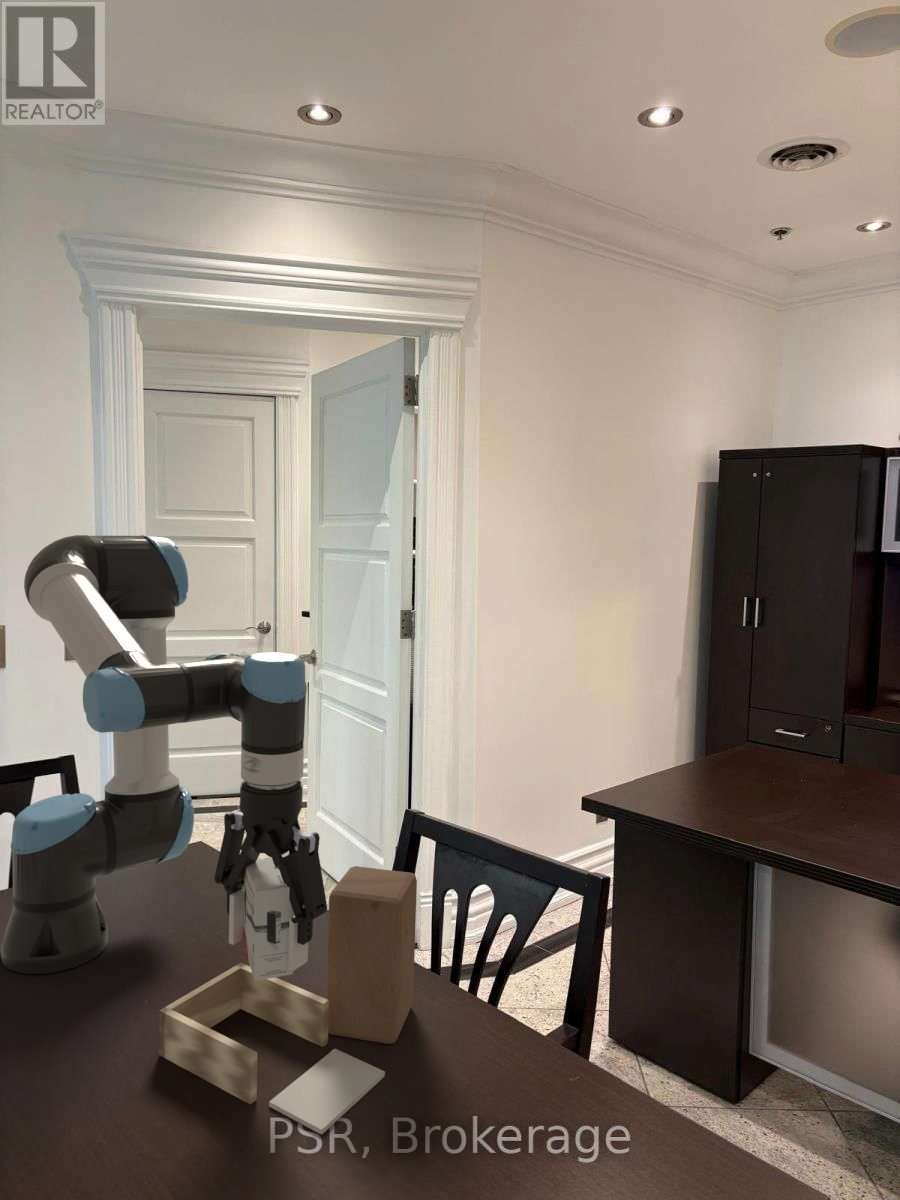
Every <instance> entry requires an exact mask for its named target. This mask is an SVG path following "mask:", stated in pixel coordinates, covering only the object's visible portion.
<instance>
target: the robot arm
mask: <svg viewBox="0 0 900 1200" xmlns="http://www.w3.org/2000/svg"><path fill="white" fill-rule="evenodd" d="M23 583H24V584H23V585H24V587H23V588H24V593H25V594H24V595H25V596H26V600H27V602H28V603H29V605H30V607H31V609H32V610H33V612H34V613H35V614H36V615H38V617H40V618H41V619H43V620H45V621H47V622H49V623H51V625H52V627H53V629H54V630H55V631H56V633H57V634H58V636H59V638H60V639H61V640H62V642H63V643H64V645H65V647H66V648H67V650H68V651H69V653H70V654H71V656H72V657H73V659H74V660H75V662H76V664H77V665H78V666H79V668H80V669H81V671H82V672H83V675H85V679H84V682H83V687H82V688H83V689H82V705H83V711H84V713H85V717H86V718H85V719H86V721H87V724H88V725H89V727H90V728H91V729H92V730H94V732H95V731H96V732H98V733H103V734H104V733H112V743H113V747H112V748H113V776H112V777H111V779H110V780H108V782H107V783H106V784H105V785H104V798H103V799H102V800H98V801H96V800H95V799H94V797H93V796H91V795H90V794H86V793H80V792H79V793H77V792H75V793H73V794H71V793H65V794H58V795H54V796H53V795H52V796H50V797H47V798H44V799H40V800H38V801H36V802H34V803H32V804H30V805H28V806H26V807H25V808H23V810H21V811H20V812H19V813H18V814H17V815H16V817H15V818H14V820H13V823H12V833H11V842H10V850H11V853H12V855H11V858H12V861H11V863H12V899H13V900H12V901H13V902H12V903H13V904H12V911H11V914H10V917H9V920H8V923H7V926H6V929H5V932H4V935H3V938H2V941H1V945H0V959H1V960H0V961H1V963H2V965H3V966H4V967H5V968H7V969H8V970H10V971H13V972H17V973H20V974H26V975H44V974H53V973H58V972H59V973H60V972H62V971H67V970H71V969H73V968H76V967H79V966H81V965H84V964H86V963H88V962H90V961H92V960H93V959H95V958H96V957H97V956H99V955H100V954H101V953H103V951H104V950H105V949H106V947H108V943H109V939H108V938H109V933H108V930H109V929H108V923H107V920H106V918H105V916H104V913H103V910H102V908H101V906H100V903H99V900H98V898H97V895H96V892H97V891H96V890H97V889H96V886H97V885H96V881H97V880H96V879H97V878H98V877H99V878H100V877H103V876H108V875H111V874H116V873H120V872H124V871H129V870H131V869H136V868H142V867H145V866H149V865H158V864H161V863H163V862H164V861H167V860H168V861H169V860H171V859H174V858H178V857H179V856H180V855H182V854H183V852H184V851H185V850H186V849H187V848H188V846H189V844H190V842H191V839H192V836H193V831H194V825H195V824H194V823H195V811H194V809H195V808H194V806H193V805H192V801H193V800H192V796H191V794H190V792H189V791H188V789H187V788H185V787H184V786H181V785H180V778H178V777H177V775H175V774H174V773H172V771H171V770H170V741H169V738H170V737H169V736H170V735H169V725H175V724H183V723H192V722H199V721H206V720H207V721H208V720H215V719H221V718H222V719H223V718H232V719H234V720H236V721H238V722H240V723H241V729H240V730H241V731H240V732H241V741H240V743H241V744H240V747H241V751H240V752H241V753H240V757H241V758H240V759H241V760H240V777H241V779H242V780H243V781H242V782H241V783H240V784H239V785H240V786H239V787H240V790H239V793H240V794H239V808H238V809H236V810H235V809H234V810H232V811H230V812H227V813H225V814H224V816H223V821H224V824H223V825H224V833H223V837H222V840H221V841H222V842H221V846H220V851H219V855H218V861H217V865H216V869H215V874H214V877H213V878H214V882H215V883H216V884H217V885H220V884H221V885H222V886H224V891H225V892H226V912H227V915H229V917H228V919H229V920H228V921H229V922H228V923H229V924H228V926H229V927H228V944H230V945H232V946H234V945H235V944H237V943H240V942H241V941H244V876H245V870H246V867H247V866H249V865H251V864H253V863H255V862H256V861H258V859H259V856H260V854H265V855H266V856H268V857H270V858H272V860H273V863H274V865H275V866H276V867H278V868H279V870H280V873H281V876H282V879H283V882H284V883H285V884H287V886H288V887H289V900H290V903H291V906H292V909H293V912H294V916H293V917H291V918H290V919H289V954H288V969H289V970H291V971H293V972H294V971H296V970H297V969H299V968H300V967H301V966H303V965H305V964H306V963H307V962H308V959H309V942H310V941H312V940H313V931H314V930H313V929H314V928H313V927H314V925H313V924H314V920H315V919H317V918H318V917H320V916H322V915H323V914H325V913H327V911H328V904H327V903H328V902H327V897H326V892H325V886H324V880H323V879H324V878H323V873H322V868H321V861H320V860H321V859H320V854H319V848H320V847H319V846H320V838H321V837H320V834H319V833H318V832H316V831H313V832H312V833H308V832H305V831H303V830H301V827H300V823H299V815H300V813H301V811H302V807H303V792H304V791H303V790H304V787H303V785H304V783H303V781H302V780H301V779H302V778H303V776H304V761H305V759H304V755H305V753H304V752H305V751H304V750H305V749H304V748H305V747H304V740H305V724H306V722H305V721H306V699H307V697H306V696H307V692H308V686H307V683H306V664H305V662H304V659H303V658H302V657H300V656H299V655H296V654H293V653H285V652H278V651H277V652H276V651H275V652H274V651H270V652H269V651H268V652H265V651H264V652H256V653H252V654H248V655H247V656H246V657H244V656H242V655H241V656H240V655H238V654H237V653H236V654H235V653H227V652H219V653H218V652H216V653H213V654H211V655H209V656H208V657H206V658H205V659H203V660H197V661H196V660H195V661H186V662H184V661H183V662H172V663H170V662H169V663H167V662H168V659H167V628H168V626H169V625H170V624H171V623H172V622H173V621H174V619H175V618H176V608H177V607H180V606H181V605H183V604H184V603H185V601H187V597H188V595H187V594H188V592H189V576H188V570H187V565H186V562H185V558H184V557H183V554H182V552H181V550H179V547H178V546H177V544H176V543H175V542H174V541H172V540H171V539H169V538H167V537H163V536H155V535H154V536H151V535H144V534H141V535H88V534H80V535H79V534H78V535H76V534H75V535H70V536H66V537H62V538H60V539H58V540H55V541H53V542H51V543H49V544H48V545H46V546H45V547H43V548H42V549H41V550H39V552H38V553H37V554H36V555H35V556H34V557H33V558H32V560H31V562H30V563H29V565H28V567H27V569H26V572H25V575H24V580H23ZM245 833H246V834H245ZM245 835H246V836H245ZM244 837H245V838H244ZM286 853H288V854H287V855H285V854H286ZM283 855H284V856H283Z"/></svg>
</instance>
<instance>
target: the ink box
mask: <svg viewBox="0 0 900 1200" xmlns="http://www.w3.org/2000/svg"><path fill="white" fill-rule="evenodd" d="M243 888H244V939H243V948H244V952H245V955H246V958H247V961H248V964H249V965H248V966H250V968H251V971H252V974H253V977H254V980H255V981H258V980H263V979H269V978H274V977H276V978H279V977H285V976H292V975H293V974H294V971H291V970H289V969H288V954H289V919H290V918H291V917H293V916H295V915H294V912H293V909H292V906H291V903H290V900H289V887H288V886H287V884H285V883H284V882H283V879H282V876H281V873H280V870H279V868H278V867H276V866H275V865H274V863H273V860H272V857H270V858H265V859H264V858H263V859H259V860H258V859H257V861H256V862H255V863H253V864H251V865H249V866H247V867H246V870H245V876H244V886H243Z"/></svg>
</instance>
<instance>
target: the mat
mask: <svg viewBox="0 0 900 1200" xmlns="http://www.w3.org/2000/svg"><path fill="white" fill-rule="evenodd" d="M385 1076H386V1071H384V1070H382V1069H381V1068H378V1067H376V1066H374V1065H372V1064H370V1063H367V1062H365V1061H363V1060H360V1059H359V1058H356V1057H354V1056H352V1055H350V1054H348V1053H346V1052H344V1051H341V1050H340V1049H337V1048H334V1049H332V1050H331V1051H330V1052H329V1053H328V1054H326V1055H325V1056H324V1057H323V1058H321V1059H320V1060H319V1061H317V1062H316V1063H315V1064H314V1065H313V1066H312V1067H310V1068H308V1070H306V1071H305V1072H304V1073H303V1074H301V1075H300V1076H299V1077H298V1078H296V1079H295V1080H294V1081H293V1082H292V1083H290V1084H289V1085H288V1086H287V1087H285V1088H284V1089H283V1090H282V1091H281V1092H279V1093H278V1094H277V1095H275V1096H274V1097H273V1098H272V1099H270V1100H269V1101H268V1107H269V1108H271V1109H273V1110H275V1111H276V1112H278V1113H280V1114H282V1115H284V1116H286V1117H288V1118H290V1119H292V1120H293V1121H295V1122H297V1123H298V1124H301V1125H303V1126H305V1127H306V1128H308V1129H310V1130H312V1131H314V1132H315V1133H316V1134H319V1135H321V1136H322V1135H323V1134H325V1132H326V1131H327V1130H329V1129H330V1127H332V1126H333V1125H334V1124H335V1123H336V1122H337V1121H338V1120H339V1119H340V1118H341V1117H342V1116H344V1115H345V1114H346V1113H347V1112H348V1111H349V1110H350V1109H351V1108H352V1107H353V1106H354V1105H355V1104H357V1103H358V1102H359V1101H360V1100H361V1099H362V1098H363V1097H365V1095H366V1094H367V1093H368V1092H370V1091H371V1090H372V1089H373V1088H374V1087H375V1086H376V1085H377V1084H378V1083H379V1082H380V1081H381V1080H382V1079H383V1078H385Z"/></svg>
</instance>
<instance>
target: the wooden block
mask: <svg viewBox="0 0 900 1200" xmlns="http://www.w3.org/2000/svg"><path fill="white" fill-rule="evenodd" d="M417 883H418V881H417V876H416V874H415V873H413V872H408V871H407V872H406V871H399V870H390V869H383V868H382V869H381V868H376V867H375V868H374V867H368V866H357V865H354V866H352V867H350V868H349V869H348V870H347V871H346V872H345V874H344V875H343V876H342V878H341V879H340V880H339V882H338V883H337V884H336V885H335V887H334V888H333V889H332V891H330V893H329V896H328V925H327V926H328V927H327V928H328V929H327V933H328V934H327V967H326V968H327V969H326V970H327V977H326V979H327V980H326V999H327V1000H329V1012H328V1034H330V1035H331V1036H332V1035H333V1036H340V1037H345V1038H349V1039H351V1038H352V1039H356V1040H362V1041H369V1042H374V1043H380V1044H388V1045H391V1044H395V1043H396V1042H397V1041H398V1038H399V1036H400V1034H401V1031H402V1028H403V1027H404V1024H405V1022H406V1020H407V1018H408V1015H409V1012H410V1011H411V1009H412V1005H413V1004H414V985H415V984H414V981H415V980H414V979H415V976H414V975H415V974H414V973H415V951H416V949H415V948H416V925H417V924H416V923H417V922H416V921H417V919H416V918H417V917H416V916H417V892H418V891H417V890H418V888H417V887H418V885H417Z"/></svg>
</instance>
